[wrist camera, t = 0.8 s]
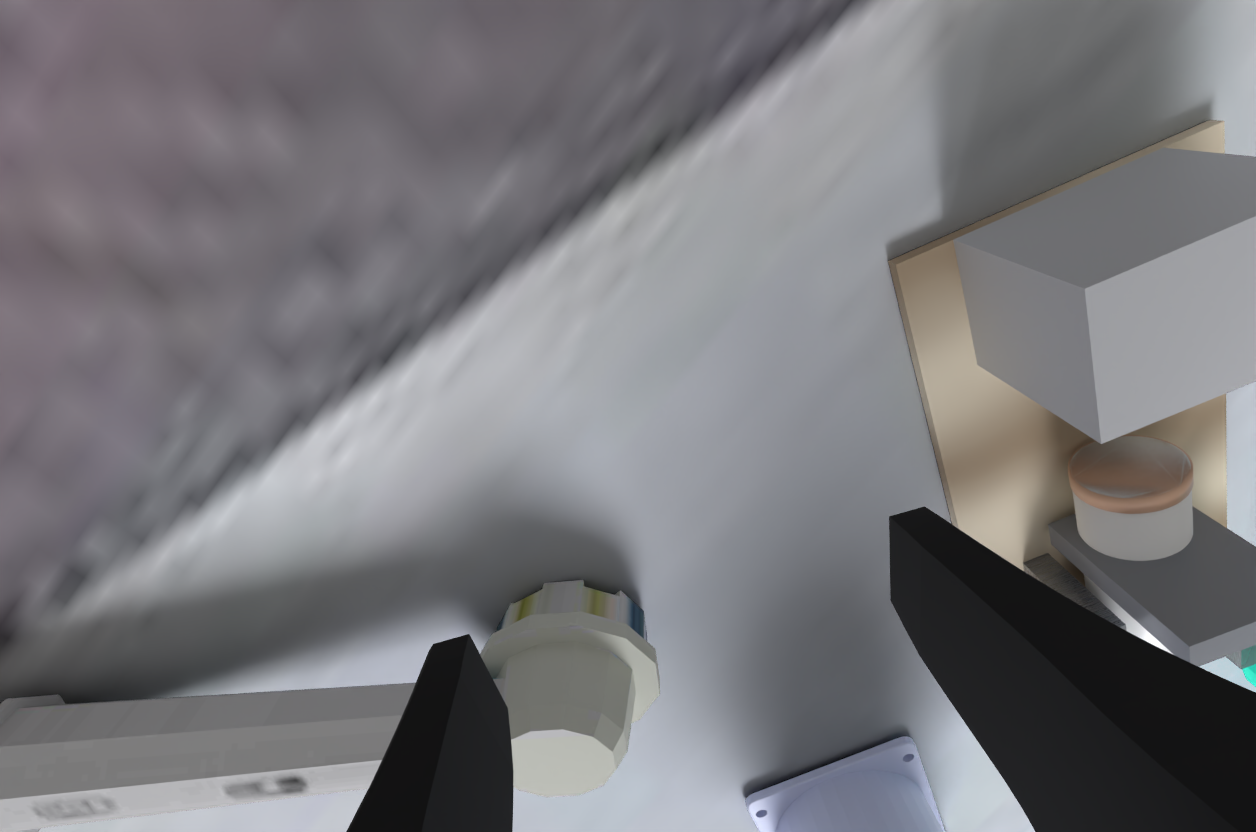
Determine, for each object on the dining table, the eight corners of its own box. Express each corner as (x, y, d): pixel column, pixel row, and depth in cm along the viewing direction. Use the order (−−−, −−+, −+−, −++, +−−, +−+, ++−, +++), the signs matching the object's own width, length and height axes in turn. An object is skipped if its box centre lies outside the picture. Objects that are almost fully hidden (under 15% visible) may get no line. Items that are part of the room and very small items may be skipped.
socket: (1169, 283, 22) (1353, 341, 17) (977, 364, 22) (1101, 444, 17) (1163, 147, 20) (1368, 168, 15) (953, 239, 20) (1084, 288, 15)
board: (1215, 559, 28) (1227, 567, 28) (982, 650, 29) (989, 659, 28) (1209, 119, 20) (1224, 120, 20) (888, 261, 21) (895, 264, 20)
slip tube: (1164, 679, 30) (1309, 816, 24) (1076, 712, 30) (1198, 856, 24) (1146, 419, 24) (1334, 522, 18) (1036, 464, 24) (1186, 579, 18)
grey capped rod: (-194, 780, 20) (650, 727, 18) (-2, 619, 26) (649, 566, 24) (-90, 884, 23) (668, 846, 21) (64, 714, 28) (663, 673, 27)
